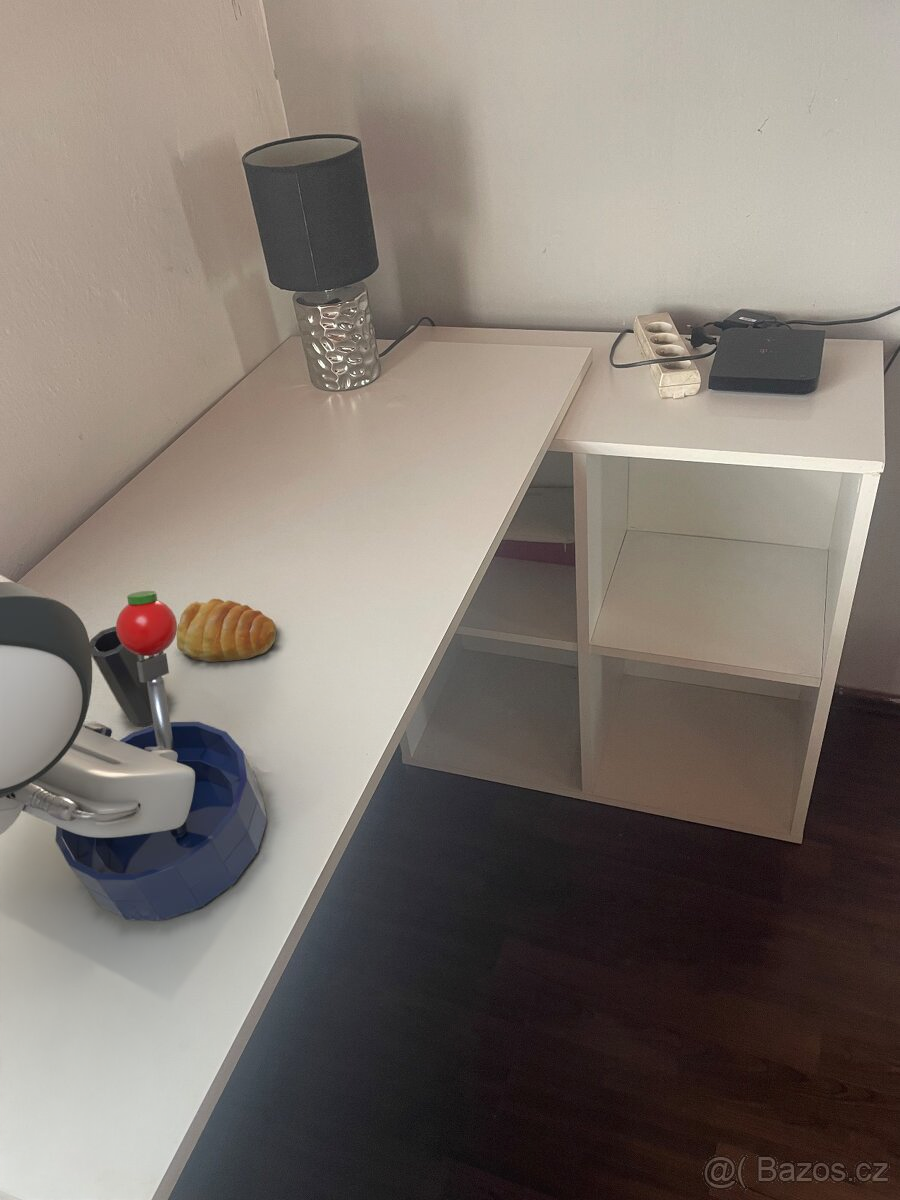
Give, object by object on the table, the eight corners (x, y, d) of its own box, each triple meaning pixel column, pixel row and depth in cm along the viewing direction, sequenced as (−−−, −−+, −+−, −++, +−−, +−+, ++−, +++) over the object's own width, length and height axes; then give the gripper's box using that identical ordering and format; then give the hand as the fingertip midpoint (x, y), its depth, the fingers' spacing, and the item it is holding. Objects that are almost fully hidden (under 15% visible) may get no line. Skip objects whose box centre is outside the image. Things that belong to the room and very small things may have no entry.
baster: (178, 855, 64) (138, 602, 60) (139, 844, 66) (98, 599, 62) (219, 829, 68) (184, 588, 63) (180, 820, 70) (144, 586, 65)
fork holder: (137, 733, 77) (97, 663, 71) (121, 711, 79) (81, 641, 73) (174, 711, 78) (137, 640, 73) (157, 690, 81) (120, 620, 75)
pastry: (289, 621, 86) (279, 592, 83) (264, 670, 81) (252, 641, 78) (205, 615, 88) (193, 587, 86) (175, 663, 83) (161, 635, 81)
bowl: (132, 963, 60) (98, 920, 56) (63, 839, 69) (29, 794, 65) (300, 841, 66) (280, 794, 62) (216, 741, 75) (194, 694, 71)
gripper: (98, 763, 44) (262, 744, 57) (-143, 669, 53) (46, 671, 65) (72, 883, 44) (241, 838, 57) (-165, 769, 53) (28, 752, 65)
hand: (135, 748), depth 61 cm, fingers open, 5 cm apart
